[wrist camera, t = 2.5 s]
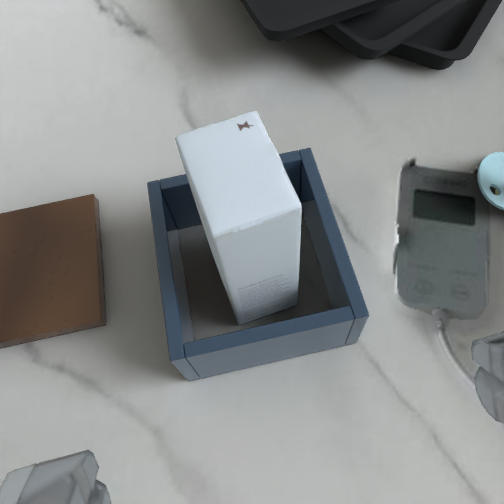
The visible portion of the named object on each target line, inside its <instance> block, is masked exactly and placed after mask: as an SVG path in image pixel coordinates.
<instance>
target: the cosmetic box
mask: <svg viewBox="0 0 504 504" xmlns="http://www.w3.org/2000/svg"><path fill="white" fill-rule="evenodd" d="M175 139H176V143H177V146H178V149H179V152H180V156H181V159H182V162H183V165H184V169H185V172H186V175H187V178H188V181H189V184H190V188H191V191H192V194H193V197H194V200H195V203H196V206H197V209H198V212H199V215H200V218H201V221H202V224H203V228H204V231H205V234H206V237H207V239H208V242H209V245H210V248H211V251H212V254H213V257H214V260H215V263H216V266H217V268H218V271H219V274H220V277H221V279H222V282H223V285H224V287H225V290H226V293H227V295H228V298H229V301H230V303H231V306H232V309H233V312H234V314H235V317H236V320H237V323H238V324H239V325H242V324H245V323H247V322H250V321H253V320H255V319H258V318H261V317H264V316H266V315H269V314H272V313H275V312H278V311H281V310H284V309H287V308H289V307H292V306H295V305H297V303H298V283H299V263H300V238H301V213H302V206H301V203H300V200H299V198H298V196H297V194H296V192H295V190H294V188H293V186H292V184H291V182H290V180H289V178H288V175H287V173H286V171H285V169H284V166H283V164H282V161H281V158H280V156H279V154H278V152H277V150H276V148H275V147H274V145H273V143H272V141H271V139H270V137H269V135H268V133H267V131H266V129H265V127H264V125H263V123H262V121H261V119H260V117H259V115H258V113H257V112H256V111H251V112H248V113H245V114H242V115H239V116H236V117H233V118H230V119H227V120H223V121H220V122H217V123H214V124H210V125H207V126H204V127H201V128H198V129H195V130H192V131H189V132H186V133H183V134H181V135H178V136H176V138H175Z"/></svg>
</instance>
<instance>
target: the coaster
mask: <svg viewBox="0 0 504 504" xmlns="http://www.w3.org/2000/svg"><path fill="white" fill-rule="evenodd" d="M103 325H106V312H105V296H104V281H103V266H102V250H101V235H100V220H99V204H98V200H97V198H96V197H95V195H94V194H90V195H86V196H81V197H76V198H72V199H67V200H62V201H58V202H53V203H48V204H43V205H39V206H34V207H29V208H25V209H20V210H15V211H10V212H6V213H1V214H0V348H5V347H9V346H13V345H18V344H22V343H27V342H31V341H36V340H40V339H45V338H49V337H54V336H58V335H63V334H67V333H72V332H76V331H81V330H85V329H90V328H94V327H98V326H103Z"/></svg>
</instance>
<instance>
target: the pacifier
mask: <svg viewBox="0 0 504 504" xmlns="http://www.w3.org/2000/svg"><path fill="white" fill-rule="evenodd" d="M477 177H478V184H479V187H480V190H481V192H482V194H483V195H484V197H485V198H486V199H487V200H488V201H489V202H490V203H491V204H492V205H493V206H495V207H497V208H499V209H502V210H504V152H497V153H492V154H490V155H489V156H487V157H485V158H484V159H483V161H482V162H481V164H480V166H479V169H478V175H477ZM490 187H494V188H495V194H496V195H495V194H493V193H492V192H491V190H490Z"/></svg>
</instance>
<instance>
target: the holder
mask: <svg viewBox="0 0 504 504" xmlns="http://www.w3.org/2000/svg"><path fill="white" fill-rule="evenodd" d="M279 156H280V158H281V161H282V164H283V166H284V169H285V171H286V173H287V175H288V178H289V180H290V182H291V184H292V186H293V188H294V190H295V192H296V194H297V196H298V198H299V200H300V203H301V206H302V211H303V215H304V218H305V221H306V224H307V227H308V231H309V234H310V237H311V240H312V243H313V246H314V250H315V253H316V256H317V259H318V262H319V265H320V269H321V272H322V275H323V278H324V281H325V285H326V288H327V291H328V294H329V297H330V300H331V304H332V307H333V310H328V311H324V312H320V313H315V314H311V315H306V316H302V317H298V318H293V319H289V320H284V321H280V322H275V323H271V324H267V325H262V326H258V327H253V328H249V329H245V330H240V331H236V332H231V333H227V334H223V335H218V336H214V337H209V338H205V339H200V340H196V341H195V338H194V332H193V326H192V319H191V313H190V307H189V300H188V294H187V288H186V281H185V275H184V269H183V262H182V256H181V250H180V243H179V237H178V231H177V229H182V228H186V227H191V226H196V225H200V224H202V221H201V218H200V215H199V212H198V209H197V206H196V203H195V200H194V197H193V194H192V191H191V188H190V184H189V181H188V178H187V175H186V174H184V175H179V176H175V177H170V178H165V179H161V180H160V181H159V180H156V181H151V182H148V183H147V186H148V194H149V202H150V210H151V218H152V225H153V233H154V241H155V249H156V256H157V264H158V272H159V280H160V287H161V295H162V303H163V311H164V319H165V326H166V334H167V342H168V350H169V357H170V361H171V362H172V363H173V364H174V366H175V367H176V368H177V369H178V370H179V371H180V372H181V373H182V375H183V376H184V377H185V378H186V379H187V380H188V381H193V380H197V379H200V378H206V377H210V376H215V375H219V374H223V373H228V372H232V371H237V370H241V369H245V368H250V367H254V366H258V365H263V364H267V363H271V362H276V361H280V360H284V359H289V358H293V357H297V356H302V355H306V354H311V353H315V352H319V351H324V350H328V349H332V348H337V347H341V346H344V344H345V345H350V344H354V343H357V341H358V339H359V337H360V334H361V332H362V330H363V328H364V326H365V324H366V322H367V319H368V317H369V313H368V310H367V307H366V304H365V301H364V298H363V296H362V293H361V290H360V287H359V284H358V281H357V279H356V276H355V273H354V270H353V267H352V264H351V261H350V259H349V256H348V253H347V250H346V247H345V244H344V242H343V239H342V236H341V233H340V230H339V227H338V225H337V222H336V219H335V216H334V213H333V210H332V207H331V205H330V202H329V199H328V196H327V193H326V190H325V188H324V185H323V182H322V179H321V176H320V173H319V171H318V168H317V165H316V162H315V159H314V156H313V154H312V151H311V148H306V149H302V150H299V151H298V150H297V151H292V152H288V153H283V154H279Z"/></svg>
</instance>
